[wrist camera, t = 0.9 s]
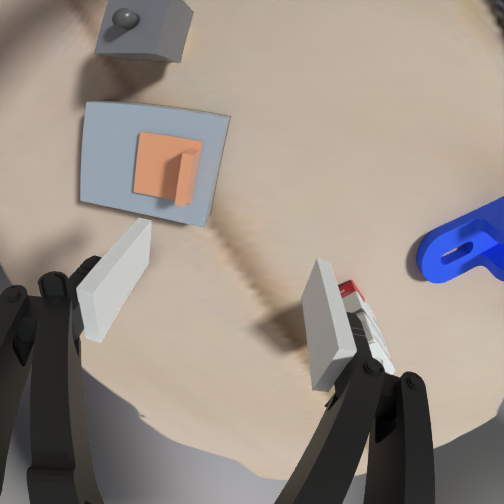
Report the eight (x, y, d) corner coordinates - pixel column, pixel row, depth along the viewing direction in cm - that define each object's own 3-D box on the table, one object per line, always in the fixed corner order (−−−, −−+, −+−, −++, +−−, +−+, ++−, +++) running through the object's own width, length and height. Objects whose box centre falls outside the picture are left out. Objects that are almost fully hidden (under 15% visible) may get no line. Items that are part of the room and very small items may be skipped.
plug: (150, 17, 24) (99, -12, 13) (200, 18, 24) (165, -17, 14) (139, 62, 27) (82, 51, 16) (187, 65, 27) (146, 50, 17)
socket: (103, 100, 29) (86, 102, 25) (230, 116, 30) (225, 118, 26) (96, 190, 35) (80, 200, 31) (210, 214, 36) (204, 227, 32)
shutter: (141, 131, 27) (127, 136, 24) (202, 141, 27) (194, 146, 24) (135, 190, 30) (121, 201, 27) (192, 202, 30) (183, 214, 27)
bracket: (503, 195, 31) (540, 220, 23) (504, 240, 35) (535, 269, 27) (411, 238, 36) (441, 274, 28) (419, 283, 39) (444, 322, 31)
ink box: (322, 295, 41) (335, 358, 30) (352, 278, 39) (374, 338, 29) (348, 329, 44) (363, 389, 33) (375, 315, 42) (397, 373, 32)
